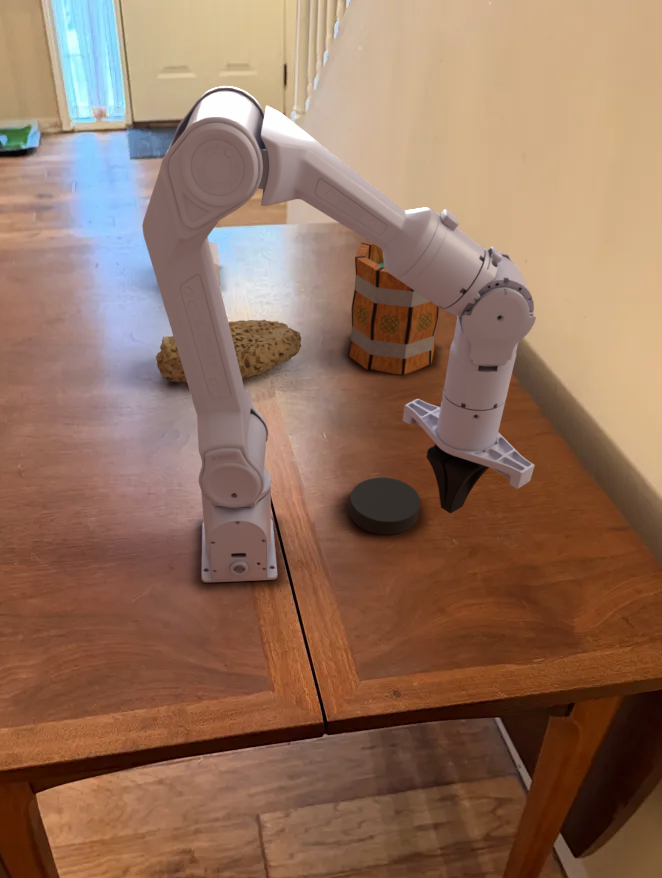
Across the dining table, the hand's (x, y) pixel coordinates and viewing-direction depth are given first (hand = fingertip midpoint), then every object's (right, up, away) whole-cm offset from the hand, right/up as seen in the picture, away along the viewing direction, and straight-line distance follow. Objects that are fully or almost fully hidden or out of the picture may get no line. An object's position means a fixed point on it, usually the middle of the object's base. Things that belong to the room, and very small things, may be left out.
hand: (451, 506), depth 81 cm
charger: (-33, +40, +53) cm, 74 cm away
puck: (-6, 0, +10) cm, 11 cm away
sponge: (-25, +21, +33) cm, 47 cm away
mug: (-1, +27, +39) cm, 48 cm away
